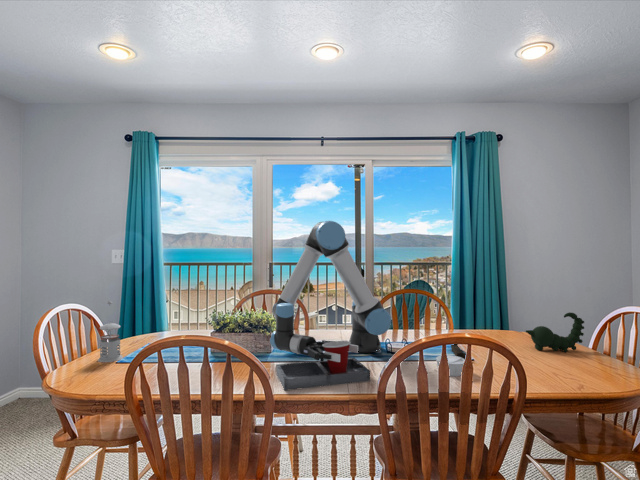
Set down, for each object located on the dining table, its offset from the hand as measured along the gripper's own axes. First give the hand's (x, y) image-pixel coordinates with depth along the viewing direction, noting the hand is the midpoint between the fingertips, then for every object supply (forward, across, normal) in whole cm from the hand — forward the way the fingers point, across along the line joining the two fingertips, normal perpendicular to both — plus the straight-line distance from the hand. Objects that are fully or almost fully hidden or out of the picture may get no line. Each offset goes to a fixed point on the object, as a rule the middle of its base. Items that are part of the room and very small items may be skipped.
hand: (349, 353), depth 155 cm
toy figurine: (+61, -84, -9) cm, 104 cm away
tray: (-8, +6, -9) cm, 14 cm away
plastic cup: (-4, +2, -8) cm, 9 cm away
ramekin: (+30, -27, -9) cm, 42 cm away
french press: (-98, +38, -9) cm, 105 cm away
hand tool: (+25, -52, -10) cm, 58 cm away
